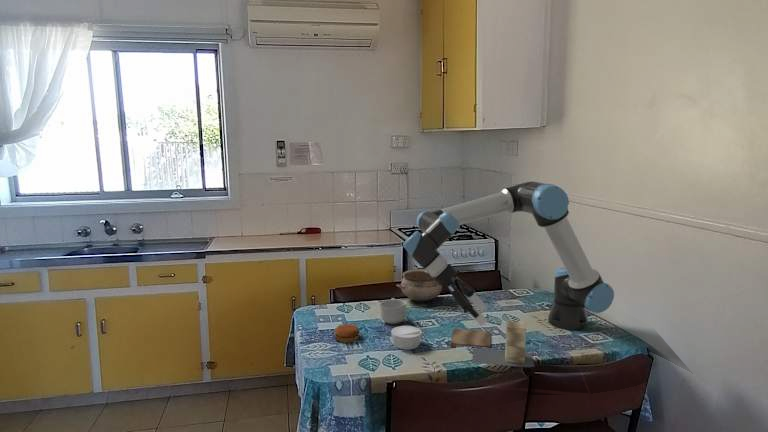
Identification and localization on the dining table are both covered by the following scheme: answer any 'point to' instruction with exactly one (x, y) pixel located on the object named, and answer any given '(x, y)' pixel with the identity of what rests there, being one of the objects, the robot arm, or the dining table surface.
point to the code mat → (498, 358)
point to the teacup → (393, 310)
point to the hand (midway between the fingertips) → (484, 316)
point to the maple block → (515, 341)
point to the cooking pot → (419, 286)
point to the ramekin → (406, 337)
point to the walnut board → (470, 338)
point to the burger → (346, 333)
